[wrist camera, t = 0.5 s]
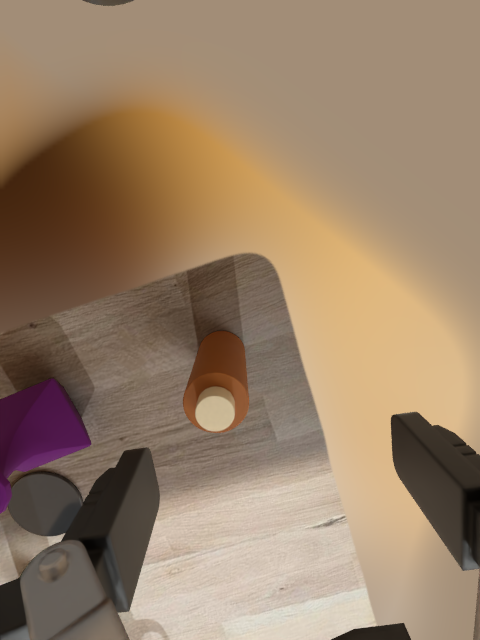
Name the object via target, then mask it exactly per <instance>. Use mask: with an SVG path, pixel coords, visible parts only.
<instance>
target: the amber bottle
mask: <svg viewBox="0 0 480 640" xmlns="http://www.w3.org/2000/svg"><path fill="white" fill-rule="evenodd" d="M183 407H184V411H185V413H186V415H187V417H188V419H189V420H190V421H191V422H192V423H193V424H194V425H195V426H196V427H198V428H199V429H202V430H204V431H207V432H212V433H220V432H226V431H229V430H231V429H233V428H235V427H236V426H238V425H239V424H240V423H241V422H242V421H243V419H244V418H245V416H246V414H247V412H248V408H249V395H248V383H247V371H246V359H245V349H244V346H243V343H242V342H241V340H240V339H239V338H238V337H237V336H236V335H234V334H233V333H230V332H227V331H216V332H213V333H211V334H209V335H207V336H206V337H205V338H204V339H203V341H202V342H201V344H200V347H199V350H198V353H197V356H196V359H195V362H194V365H193V369H192V372H191V375H190V378H189V381H188V384H187V387H186V390H185V393H184V397H183Z"/></svg>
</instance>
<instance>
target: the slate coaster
mask: <svg viewBox="0 0 480 640" xmlns="http://www.w3.org/2000/svg"><path fill="white" fill-rule="evenodd" d="M11 491H12V497H11V499H10V502H9V504H8V508H9V511H10V514H11V516H12V517H13V519H14V520H15V521H16V522H17V524H19V525H20V526H21V527H22V528H24V529H25V530H27V531H29V532H31V533H33V534H37V535H41V536H57V535H61V534H63V533H66V532H67V530H68V528H69V527H70V525H71V523H72V521H73V520H74V518H75V516H76V515H77V513H78V511H79V509H80V508H81V506H83V500H82V497H81V495H80V493H79V491H78V489H77V488H76V487H75V486H74V485H73V484H72V483H71V482H70V481H69V480H67V479H66V478H64V477H62V476H60V475H57V474H54V473H50V472H35V473H31V474H28V475H26V476H24V477H22V478H21V479H19V480H18V481H17V482H16V483H15V484H14V485H13V487H12V488H11Z"/></svg>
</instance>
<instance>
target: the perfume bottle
mask: <svg viewBox="0 0 480 640" xmlns="http://www.w3.org/2000/svg"><path fill="white" fill-rule="evenodd" d="M90 445H91V440H90V438H89V436H88V433H87V431H86V428H85V426H84V423H83V421H82V418H81V417H80V415H79V413H78V411H77V410H76V408H75V406H74V404H73V403H72V401H71V399H70V397H69V396H68V394H67V392H66V391H65V389H64V387H63V386H61V385H60V384H59V383H58V382H57V381H56V380H55V379H54V378H51V379H48V380H46V381H44V382H41V383H39V384H36V385H34V386H32V387H29V388H27V389H24V390H22V391H19V392H17V393H15V394H12V395H10V396H7V397H5V398H3V399H0V513H2V512H3V511H5V510H6V508H7V506H8V504H9V502H10V499H11V497H12V491H11V486H10V482H9V481H8V479H7V478H8V477H9V475H10V474H11V473H12V472H13V471H14V470H18V471H23V472H25V471H28V470H31V469H33V468H36V467H38V466H41V465H43V464H46V463H48V462H51V461H53V460H56V459H58V458H61V457H63V456H66V455H68V454H71V453H73V452H76V451H78V450H81V449H84V448H86V447H88V446H90Z"/></svg>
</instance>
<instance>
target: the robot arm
mask: <svg viewBox="0 0 480 640" xmlns="http://www.w3.org/2000/svg"><path fill="white" fill-rule="evenodd" d="M391 435H392V452H393V462H394V466H395V469H396V472H397V474H398V476H399V478H400V480H401V481H402V482H403V484H404V485H405V487H406V488H407V490H408V491H409V493H410V494H411V496H412V497H413V499H414V500H415V501H416V503H417V504H418V506H419V507H420V509H421V510H422V512H423V513H424V515H425V516H426V518H427V519H428V520H429V522H430V523H431V525H432V526H433V528H434V529H435V531H436V532H437V533H438V535H439V537H440V538H441V539H442V541H443V542H444V544H445V545H446V546H447V548H448V550H449V551H450V553H451V554H452V555H453V557H454V558H455V560H456V561H457V562H458V564H459V565H460V567H461V569H462V570H463V571H465V570H473V569H480V455H479V454H476V452H475V451H474V450H473V449H472V448H471V447H470V446H469V445H466V443H465V442H464V441H463V440H462V439H461V438H459V437H458V436H457V435H456V434H455V433H453V432H451V431H449V430H447V429H445V428H443V427H441V426H439V425H434V426H432V425H431V424H429V422H428V421H427V420H425V419H424V418H423V417H422V416H421V415H420V414H419V413H418V412H410V413H403V414H396V415H393V416H392V417H391ZM159 501H160V494H159V486H158V482H157V477H156V473H155V469H154V464H153V460H152V455H151V452H150V449H149V448H139V449H132V450H126V451H124V452H123V454H122V456H121V458H120V460H119V462H118V464H117V465H116V467H115V468H109V469H108V470H107V471H106V472H105V473H104V474H102V475H101V476H100V477H99V478H98V479H97V480H96V482H95V483H94V485H93V487H92V489H91V490H90V492H89V495H88V496H87V497H86V499H85V501H84V502H83V506H81V508H80V509H79V511H78V513H77V515H76V516H75V518H74V520H73V521H72V523H71V525H70V527H69V528H68V530H67V532H66V534H65V535H64V537H63V539H62V541H61V542H59V543H56V544H54V545H52V546H50V547H48V548H46V549H45V550H43V551H42V552H40V553H39V554H38V555H37V556H36V557H34V558H33V559H32V561H31V562H30V563H29V564H28V565H27V567H26V568H25V570H24V571H23V573H22V576H21V577H20V578H18V579H16V580H13V581H11V582H8V583H6V584H3V585H0V640H130V639H129V637H128V635H127V633H126V631H125V628H124V626H123V624H122V622H121V619H120V617H119V615H118V613H119V612H127V611H129V610H130V607H131V603H132V600H133V596H134V593H135V589H136V586H137V582H138V579H139V575H140V572H141V568H142V565H143V561H144V558H145V554H146V551H147V547H148V544H149V540H150V537H151V533H152V530H153V526H154V523H155V519H156V516H157V512H158V509H159ZM331 640H411V638H410V636H409V634H408V632H407V629H406V627H405V625H404V623H400V624H392V625H384V626H376V627H368V628H359V629H353V630H351V631H349V632H347V633H345V634H342V635H340V636H338V637H336V638H334V639H331ZM473 640H480V570H479V582H478V593H477V604H476V615H475V627H474V638H473Z"/></svg>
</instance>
